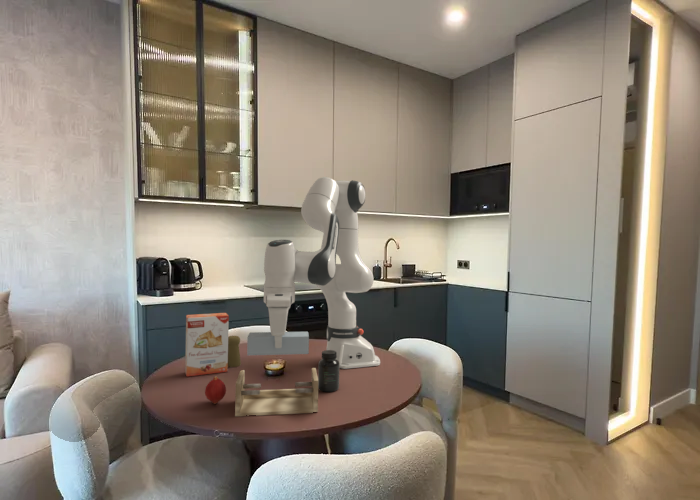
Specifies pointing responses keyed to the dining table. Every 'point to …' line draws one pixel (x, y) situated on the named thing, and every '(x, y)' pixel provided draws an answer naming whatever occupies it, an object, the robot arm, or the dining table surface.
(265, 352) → the light grey rectangular block
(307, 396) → the tray
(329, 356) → the supplement bottle
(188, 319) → the cracker box
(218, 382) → the red round piece
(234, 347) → the olive double rounded piece
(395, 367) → the dining table surface
